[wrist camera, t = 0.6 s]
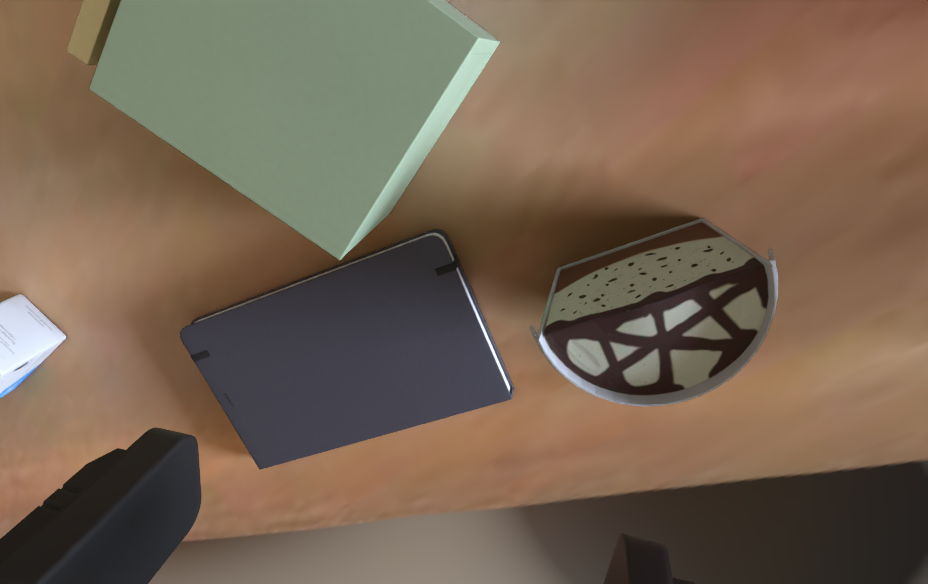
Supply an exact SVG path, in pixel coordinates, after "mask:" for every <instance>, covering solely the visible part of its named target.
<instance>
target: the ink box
mask: <svg viewBox="0 0 928 584" xmlns="http://www.w3.org/2000/svg"><path fill="white" fill-rule="evenodd" d="M65 339H66V336H65V334H64V333H62V332H61V331H60V330H59V329H58V328H57V327H56V326H55V325H54V324H53V323H52V322H51V321H50V320H49V319H48V318H47V317H46V316H45V315H43V314H42V313H41V312H40V311H39V310H38V309H37V308H36V307H35V306H34V305H33V304H32V303H31V302H30V301H29V300H28V299H27V298H25V297H24V296H23V295H21V294H17V295H15V296H13V297H10V298H8V299H6V300H4V301H1V302H0V398H1V397H3V396H4V395H6V394H8V393H9V392H11V391H12V390H14V389H15V388H16V387H17V386H18V385H19V384H20V383H21V382H22V381H23V380H25V378H26V377H27V376H29V375H30V374H31V373H32V372H33V371H34V370H35V369H36V368H37V367H38V366H39V365H40V364H41V363H42V362H43V361H44V360H45V359H46V358H47V357H48V356H49V355H50V354H51V353H52V352H53V351H54V350H55V349H56V348H57V347H58V346H59V345H60V344H61V343H62V342H63V341H64V340H65Z"/></svg>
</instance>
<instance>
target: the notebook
mask: <svg viewBox="0 0 928 584" xmlns="http://www.w3.org/2000/svg"><path fill="white" fill-rule="evenodd" d="M180 338H181V340H182V342H183V344H184V345H185V347H186V349H187V350H188V352H189V354H190V355H191V358H192V359H193V361H194V362H195V364H196V365H197V367H198V369H199V370H200V372H201V374H202V375H203V377H204V378H205V380H206V382H207V383H208V385H209V387H210V388H211V390H212V392H213V393H214V395H215V397H216V398H217V400H218V402H219V403H220V405H221V407H222V408H223V410H224V412H225V413H226V415H227V416H228V418H229V420H230V421H231V423H232V425H233V426H234V428H235V430H236V431H237V433H238V435H239V436H240V438H241V440H242V441H243V443H244V445H245V446H246V448H247V449H248V451H249V453H250V454H251V456H252V458H253V459H254V461H255V463H256V464H257V466H258V468H259V469H264V468H267V467H271V466H274V465H278V464H282V463H285V462H289V461H292V460H296V459H299V458H303V457H307V456H310V455H314V454H317V453H321V452H324V451H328V450H332V449H335V448H339V447H342V446H346V445H349V444H353V443H357V442H360V441H364V440H367V439H371V438H374V437H378V436H382V435H385V434H389V433H392V432H396V431H400V430H403V429H407V428H410V427H414V426H417V425H421V424H425V423H428V422H432V421H435V420H439V419H442V418H446V417H450V416H453V415H457V414H460V413H464V412H467V411H471V410H475V409H478V408H482V407H485V406H489V405H492V404H496V403H500V402H503V401H507V400H510V399H512V396H513V389H514V388H513V385H512V383H511V381H510V378H509V376H508V374H507V371H506V369H505V367H504V364H503V362H502V360H501V357H500V355H499V353H498V350H497V348H496V346H495V344H494V341H493V339H492V337H491V334H490V332H489V330H488V327H487V325H486V323H485V320H484V318H483V316H482V313H481V311H480V309H479V307H478V304H477V302H476V300H475V297H474V295H473V293H472V290H471V288H470V286H469V283H468V281H467V279H466V276H465V274H464V272H463V270H462V267H461V265H460V262H459V259H458V257H457V255H456V253H455V251H454V249H453V246H452V244H451V242H450V239H449V238H448V236H447V235H446V233H444V232H443V231H442V230H432V231H428V232H425V233H423V234H420V235H418V236H415V237H412V238H410V239H407V240H404V241H402V242H399V243H396V244H394V245H391V246H388V247H386V248H383V249H380V250H378V251H375V252H372V253H370V254H367V255H364V256H362V257H359V258H356V259H354V260H351V261H348V262H346V263H343V264H340V265H338V266H335V267H332V268H330V269H327V270H325V271H322V272H319V273H317V274H314V275H311V276H309V277H306V278H303V279H301V280H298V281H295V282H293V283H290V284H287V285H285V286H282V287H279V288H277V289H274V290H271V291H269V292H266V293H263V294H261V295H258V296H255V297H253V298H250V299H247V300H245V301H242V302H240V303H237V304H234V305H232V306H229V307H226V308H224V309H221V310H218V311H216V312H213V313H210V314H208V315H205V316H202V317H200V318H197V319H195V320H194V321H192V323H191V325H188V326H186V327H184V328H183V329H182V330H181V332H180Z"/></svg>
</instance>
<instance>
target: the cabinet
mask: <svg viewBox="0 0 928 584" xmlns="http://www.w3.org/2000/svg"><path fill="white" fill-rule="evenodd" d="M499 43H500V41H498V40H497V39H496V38H494V37H493V36H492V35H490V34H489V33H488V32H486V31H485V30H484V29H482V28H481V27H480V26H478V25H477V24H476V23H474V22H473V21H472V20H470V19H469V18H468V17H466V16H465V15H464V14H462V13H461V12H460V11H458V10H457V9H456V8H454V7H453V6H452V5H450V4H449V3H448V2H446V1H445V0H121V1H120V4H119V7H118V9H117V12H116V15H115V18H114V20H113V23H112V26H111V29H110V31H109V34H108V37H107V40H106V43H105V45H104V48H103V51H102V54H101V56H100V59H99V62H98V65H97V67H96V70H95V73H94V76H93V78H92V81H91V84H90V87H89V90H91V91H92V92H94V93H95V94H97V95H98V96H100V97H101V98H103V99H104V100H105V101H107V102H108V103H110V104H111V105H113V106H114V107H116V108H117V109H119V110H120V111H122V112H123V113H125V114H126V115H127V116H129V117H130V118H132V119H133V120H135V121H136V122H138V123H139V124H141V125H142V126H144V127H145V128H146V129H148V130H149V131H151V132H152V133H154V134H155V135H157V136H158V137H160V138H161V139H163V140H164V141H165V142H167V143H168V144H170V145H171V146H173V147H174V148H176V149H177V150H179V151H180V152H182V153H183V154H184V155H186V156H187V157H189V158H190V159H192V160H193V161H195V162H196V163H198V164H199V165H201V166H202V167H203V168H205V169H206V170H208V171H209V172H211V173H212V174H214V175H215V176H217V177H218V178H220V179H221V180H222V181H224V182H225V183H227V184H228V185H230V186H231V187H233V188H234V189H236V190H237V191H239V192H240V193H242V194H243V195H244V196H246V197H247V198H249V199H250V200H252V201H253V202H255V203H256V204H258V205H259V206H261V207H262V208H263V209H265V210H266V211H268V212H269V213H271V214H272V215H274V216H275V217H277V218H278V219H280V220H281V221H282V222H284V223H285V224H287V225H288V226H290V227H291V228H293V229H294V230H296V231H297V232H299V233H300V234H301V235H303V236H304V237H306V238H307V239H309V240H310V241H312V242H313V243H315V244H316V245H318V246H319V247H320V248H322V249H323V250H325V251H326V252H328V253H329V254H331V255H332V256H334V257H335V258H337V259H338V260H341V259H342V258H343V257H344V256H345V255H346V254H347V253H348V252H349V251H350V250H351V249H352V248H353V247H354V246H356V245H357V244H358V243H359V242H360V241H361V240H362V239H363V238H364V237H365V236H366V235H367V234H368V233H369V232H371V231H372V230H373V229H374V228H375V227H376V226H377V225H378V224H379V223H380V222H381V221H382V220H383V219H385V218H386V217H387V216H388V215H389V214H390V212H391V211H392V209H393V208H394V206H395V205H396V203H397V202H398V200H399V199H400V197H401V195H402V194H403V192H404V191H405V189H406V188H407V186H408V185H409V183H410V181H411V180H412V178H413V177H414V175H415V174H416V172H417V171H418V169H419V167H420V166H421V164H422V163H423V161H424V160H425V158H426V157H427V155H428V154H429V152H430V150H431V149H432V147H433V146H434V144H435V143H436V141H437V140H438V138H439V136H440V135H441V133H442V132H443V130H444V129H445V127H446V126H447V124H448V122H449V121H450V119H451V118H452V116H453V115H454V113H455V112H456V110H457V108H458V107H459V105H460V104H461V102H462V101H463V99H464V98H465V96H466V95H467V93H468V91H469V90H470V88H471V87H472V85H473V84H474V82H475V81H476V79H477V77H478V76H479V74H480V73H481V71H482V70H483V68H484V67H485V65H486V63H487V62H488V60H489V59H490V57H491V56H492V54H493V53H494V51H495V49H496V48H497V46H498V45H499Z"/></svg>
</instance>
